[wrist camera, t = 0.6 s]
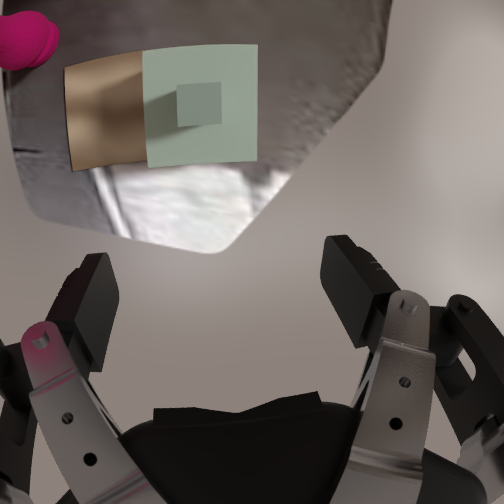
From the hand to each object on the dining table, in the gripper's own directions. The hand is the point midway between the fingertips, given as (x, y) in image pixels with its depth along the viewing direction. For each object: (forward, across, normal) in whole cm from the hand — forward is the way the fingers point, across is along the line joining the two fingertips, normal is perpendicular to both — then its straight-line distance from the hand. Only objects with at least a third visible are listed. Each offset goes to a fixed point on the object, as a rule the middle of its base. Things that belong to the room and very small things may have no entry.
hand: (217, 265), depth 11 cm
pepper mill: (+26, +21, -16) cm, 37 cm away
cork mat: (+25, +12, -5) cm, 28 cm away
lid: (+19, 0, -5) cm, 20 cm away
